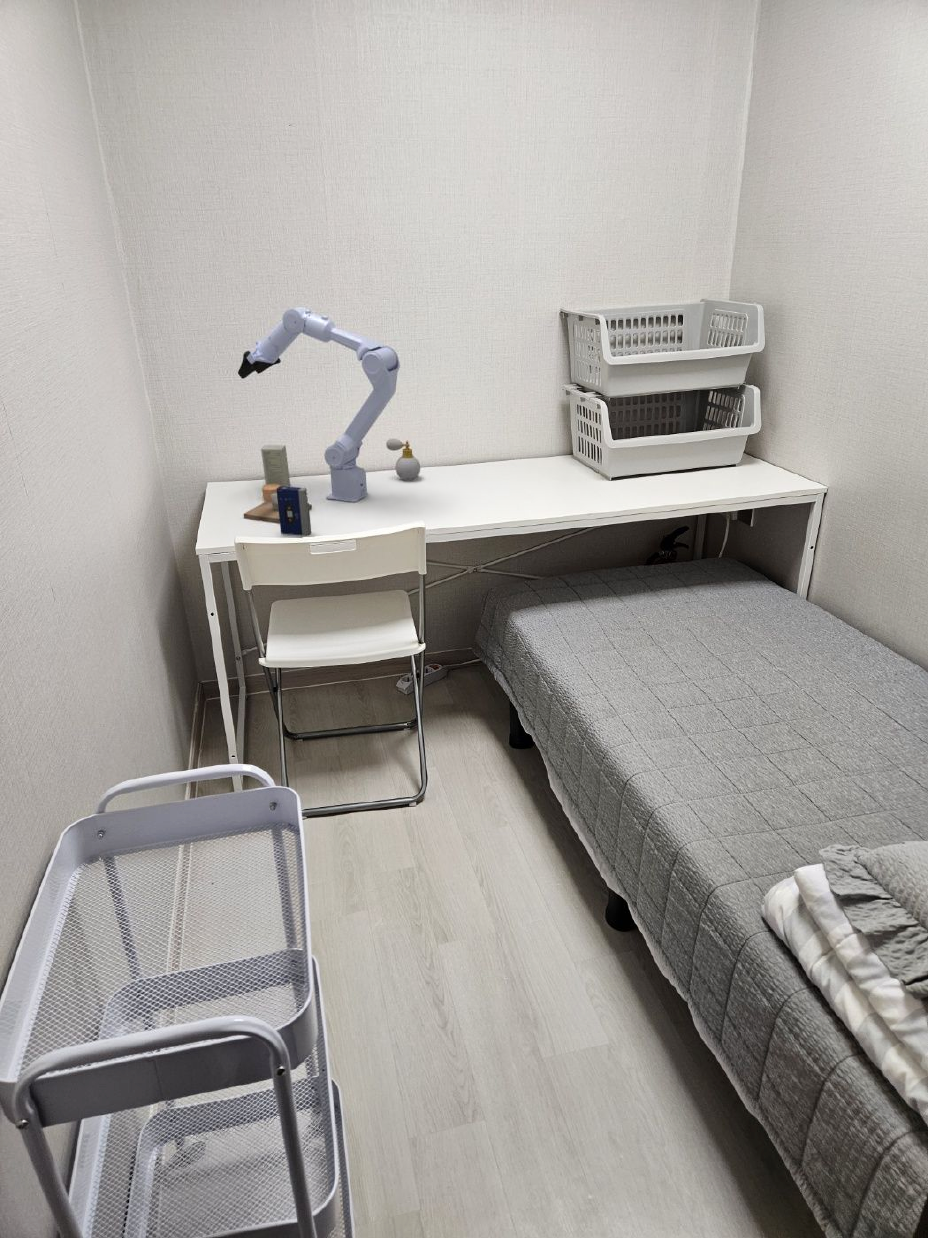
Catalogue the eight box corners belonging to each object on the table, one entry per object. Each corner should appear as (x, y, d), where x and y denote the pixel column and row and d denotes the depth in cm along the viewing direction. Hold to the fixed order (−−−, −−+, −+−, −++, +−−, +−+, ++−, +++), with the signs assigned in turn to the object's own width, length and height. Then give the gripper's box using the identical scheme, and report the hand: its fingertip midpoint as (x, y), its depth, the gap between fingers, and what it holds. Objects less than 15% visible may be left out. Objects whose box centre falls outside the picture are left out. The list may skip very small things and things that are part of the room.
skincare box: (290, 485, 243) (286, 445, 238) (286, 490, 240) (282, 449, 234) (269, 485, 244) (265, 444, 238) (265, 489, 240) (260, 448, 235)
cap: (286, 496, 234) (284, 484, 233) (276, 502, 230) (274, 490, 228) (270, 494, 236) (268, 482, 234) (260, 500, 232) (258, 488, 230)
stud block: (312, 508, 226) (310, 490, 223) (286, 524, 215) (284, 505, 212) (270, 503, 230) (268, 484, 227) (244, 518, 219) (241, 499, 216)
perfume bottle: (422, 481, 247) (421, 441, 242) (390, 483, 245) (388, 443, 240) (418, 474, 254) (417, 435, 248) (386, 476, 252) (385, 437, 246)
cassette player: (280, 533, 209) (275, 487, 203) (284, 530, 211) (279, 484, 205) (308, 535, 208) (304, 489, 202) (311, 532, 210) (307, 486, 204)
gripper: (282, 325, 227) (254, 356, 234) (252, 332, 215) (223, 365, 222) (298, 346, 228) (270, 377, 235) (269, 355, 216) (240, 387, 223)
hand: (248, 373), depth 229 cm, fingers open, 7 cm apart
